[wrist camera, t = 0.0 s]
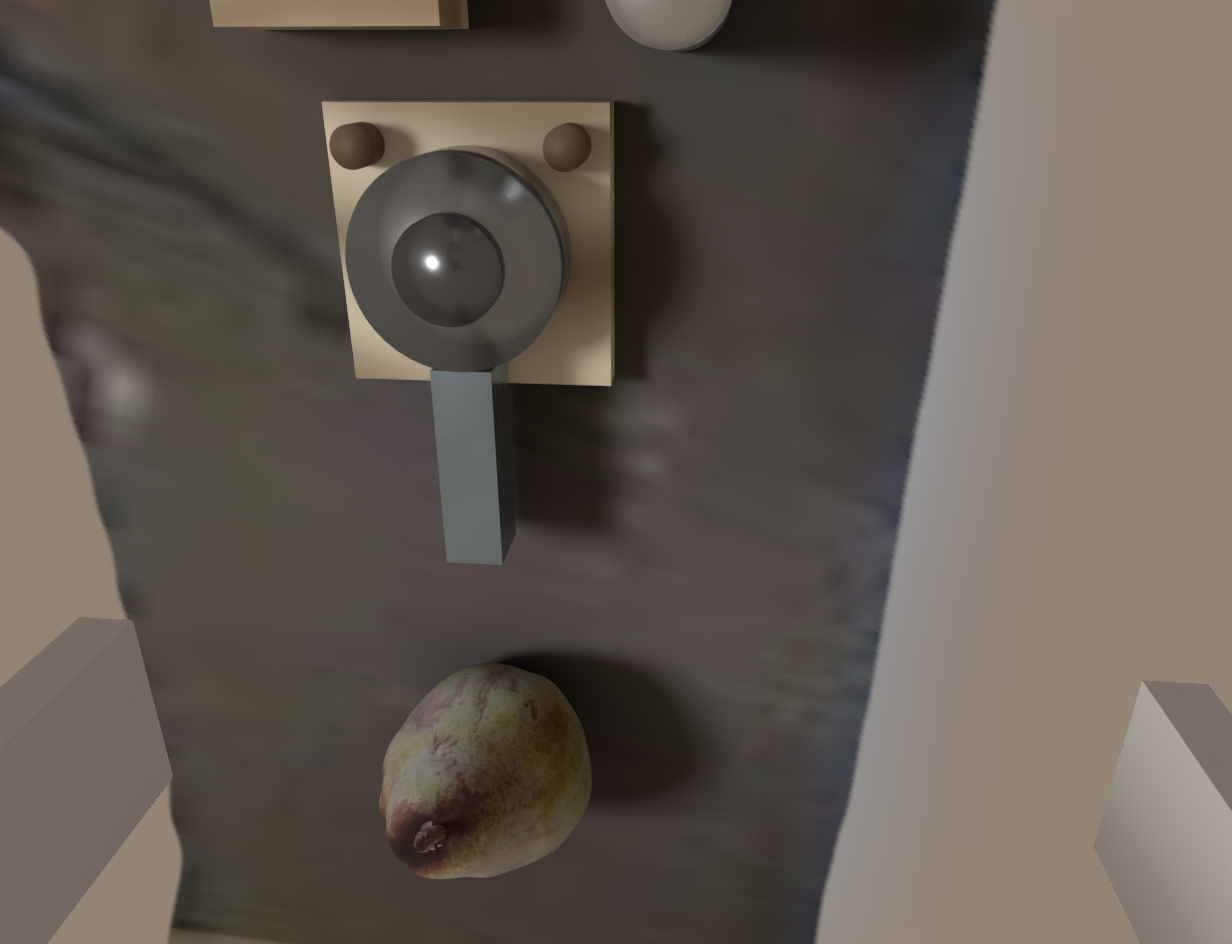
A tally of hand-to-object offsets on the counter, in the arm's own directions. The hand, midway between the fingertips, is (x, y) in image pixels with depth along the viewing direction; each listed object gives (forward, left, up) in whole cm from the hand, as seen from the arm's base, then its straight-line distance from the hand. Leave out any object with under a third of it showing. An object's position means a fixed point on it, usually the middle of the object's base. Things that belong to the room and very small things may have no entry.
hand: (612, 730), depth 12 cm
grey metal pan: (+3, -8, -26) cm, 28 cm away
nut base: (-1, -8, -28) cm, 29 cm away
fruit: (+23, -8, -28) cm, 37 cm away
